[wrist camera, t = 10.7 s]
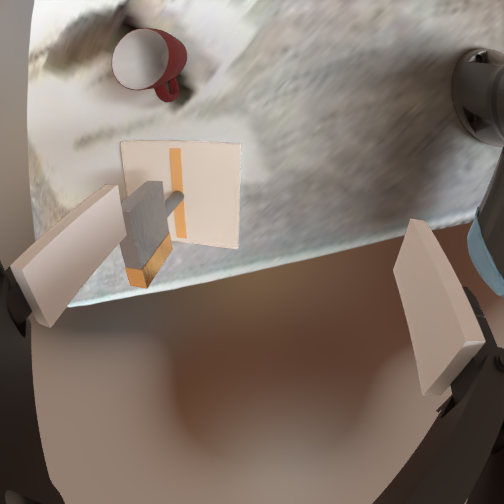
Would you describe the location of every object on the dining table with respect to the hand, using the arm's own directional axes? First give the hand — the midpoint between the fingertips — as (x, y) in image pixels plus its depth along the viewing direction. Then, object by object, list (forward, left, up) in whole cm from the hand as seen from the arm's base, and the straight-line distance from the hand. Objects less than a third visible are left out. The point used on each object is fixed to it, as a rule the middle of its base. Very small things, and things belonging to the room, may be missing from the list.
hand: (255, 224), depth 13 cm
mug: (+17, -7, -32) cm, 37 cm away
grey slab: (+17, +14, -23) cm, 32 cm away
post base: (+17, +14, -32) cm, 39 cm away
